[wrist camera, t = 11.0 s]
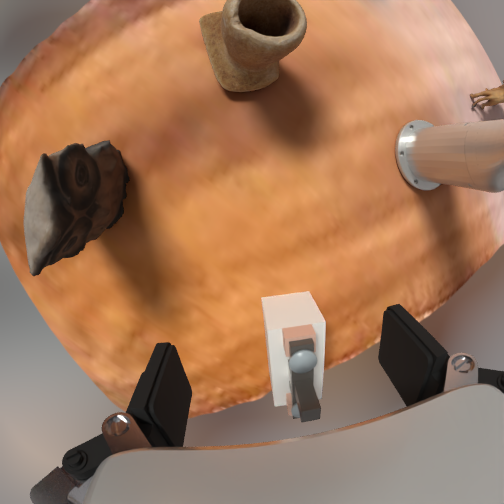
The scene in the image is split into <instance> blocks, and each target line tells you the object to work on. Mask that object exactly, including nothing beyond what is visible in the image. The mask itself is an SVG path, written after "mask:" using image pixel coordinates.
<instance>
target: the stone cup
mask: <svg viewBox="0 0 504 504" xmlns="http://www.w3.org/2000/svg"><path fill="white" fill-rule="evenodd" d="M199 22H200V27H201V31H202V36H203V39H204V43H205V45H206V49H207V53H208V56H209V59H210V62H211V65H212V68H213V70H214V73H215V76H216V78H217V80H218V82H219V83H220V85H221V86H222V87H223V88H224V89H226V90H228V91H234V92H246V91H253V90H257V89H261V88H264V87H266V86H268V85H270V84H271V83H272V82H273V81H275V80H277V78H278V76H279V64H278V61H279V60H281V59H282V58H284V57H285V56H287V55H288V54H289V53H291V52H292V51H294V50H295V49H296V48H297V47H298V46H299V44H300V43H301V41H302V40H303V38H304V35H305V33H306V28H307V20H306V16H305V13H304V11H303V9H302V7H301V6H300V4H299V3H298V2H297V1H296V0H227V1H226V3H225V5H224V7H223V11H221V12H215V13H211V14H207V15H205V16H203V17H201V18H200V20H199Z"/></svg>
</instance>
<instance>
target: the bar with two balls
mask: <svg viewBox="0 0 504 504" xmlns="http://www.w3.org/2000/svg"><path fill="white" fill-rule="evenodd" d="M289 354H290V359H289V360H288V366H289V370H290V374H291V385H290V381H289V386H290V391H291V396H292V408H291V412H292V415H293V419H295V418H301V422H306V421H312V420H317V419H320V412H321V407H320V404H319V400H318V397H317V394H316V391H315V388H314V385H313V382H314V367H315V366H316V364H317V357H316V354H315V353H314V342H313V339H312V338H308V339H302V340H296V341H289Z"/></svg>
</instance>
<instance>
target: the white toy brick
mask: <svg viewBox="0 0 504 504" xmlns="http://www.w3.org/2000/svg"><path fill="white" fill-rule="evenodd" d="M261 298H262V308H263V317H264V326H265V336H266V345H267V355H268V365H269V373H270V379H271V386H272V393H273V399H274V405H275V406H282V405H287V409H288V415H289V416H290V415H292V412H291V408H292V396H291V391H290V386H289V381H290V385H291V374H290V370H289V366H288V360H289V359H290V354H289V341H296V340H302V339H308V338H312V339H313V342H314V353H315V354H316V357H317V364H316V366H315V367H314V382H313V385H314V388H315V391H316V394H317V397H318V399H321V398H322V388H323V373H324V355H325V328H326V321H325V320H324V318H323V316H322V314H321V312H320V310H319V309H318V307H317V305H316V303H315V301H314V299H313V298H312V296H311V294H310V292H309V291H307V292H300V293H292V294H285V295H277V296H269V297H261Z"/></svg>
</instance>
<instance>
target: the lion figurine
mask: <svg viewBox="0 0 504 504" xmlns="http://www.w3.org/2000/svg"><path fill="white" fill-rule="evenodd" d="M503 83H504V80H503ZM470 96H471V98H472V99H474V98H477V97H479V96H485V97H484V98H481V99H478V100H477V101H476V102H475V103H474V104H472V108H474V107H475V106H476V104H477V103H478V102H480V101H483V100H488V101H487V102H486V103H482V104H481V105H480V106H481V108H482V109H484V107H485V106H493V105H497V104H498V103H503V102H504V84H503V85H502V86H500V87H498V88H493V89H491V90H488V89H487V88H486V91H483V92H480V93H477V94H474V95H473V94H470Z"/></svg>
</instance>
